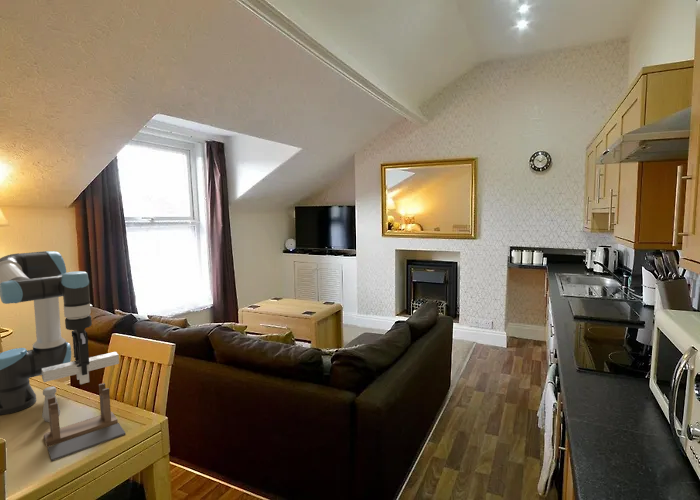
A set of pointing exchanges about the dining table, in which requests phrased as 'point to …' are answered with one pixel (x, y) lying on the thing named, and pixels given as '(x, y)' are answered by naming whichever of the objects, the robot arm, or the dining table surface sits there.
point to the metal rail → (72, 368)
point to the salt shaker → (47, 393)
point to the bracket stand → (81, 427)
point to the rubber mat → (85, 441)
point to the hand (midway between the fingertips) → (83, 380)
